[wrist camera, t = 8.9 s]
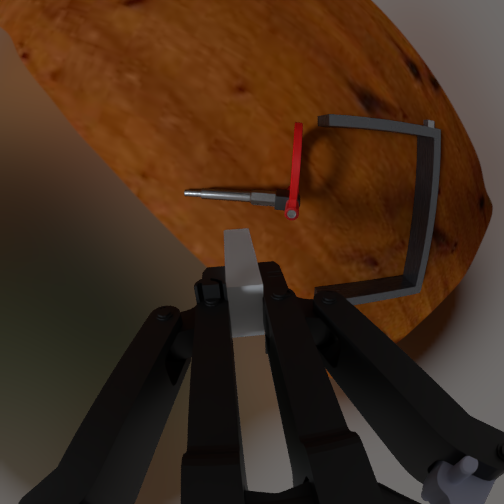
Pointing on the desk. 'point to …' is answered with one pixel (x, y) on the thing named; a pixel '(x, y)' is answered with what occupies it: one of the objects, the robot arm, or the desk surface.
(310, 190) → the desk surface
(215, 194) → the tow hook
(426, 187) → the bracket
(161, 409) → the robot arm
